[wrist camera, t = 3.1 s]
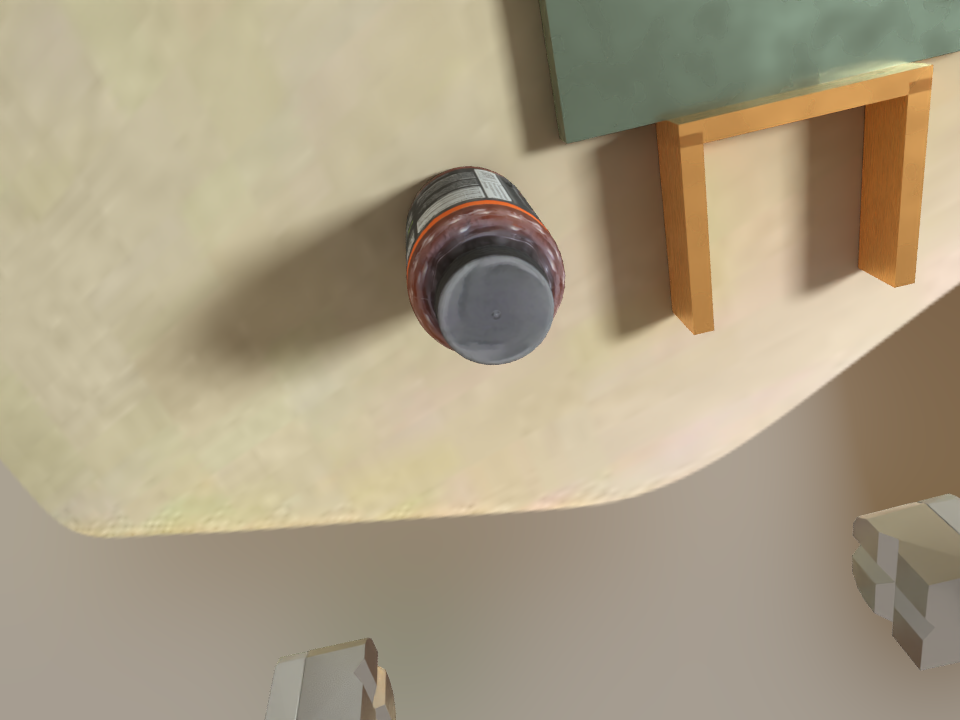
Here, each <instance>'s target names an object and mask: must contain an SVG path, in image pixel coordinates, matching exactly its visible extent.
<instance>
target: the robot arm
mask: <svg viewBox="0 0 960 720" xmlns="http://www.w3.org/2000/svg"><path fill="white" fill-rule="evenodd" d="M853 536H854V538H855V539H856V540H857V541H858V542H859V543H860V546H859V548H858V549H857V550H856V552H855V553H854V554H853V555H852V572H853V575H854V578H855V581H856V585H857V588H858V589H859V591H860V593H861V595H862V597H863V599H864V600H865V602H866V603H867V604H868V606H869V607H870V608H871V609H872V611H873V612H874V613H875V614H877V615H879V616H881V617H883V618H885V619H887V620H890V621H892V622H893V629H892V636H893V637H894V639H895V640H896V641H897V642H898V643H899V645H900V646H901V647H902V649H903V650H904V651H905V652H906V653H907V655H908V656H909V657H910V658H911V660H912V661H913V662H914V663H915V665H916V666H917V667H918V668H919V670H925V669H929V668H934V667H939V666H944V665H948V664H953V663H958V662H960V499H959V498H958V497H956V496H954V495H951V494H946V495H942V496H938V497H934V498H930V499H926V500H922V501H918V502H917V503H910V504H906V505H902V506H898V507H894V508H890V509H887V510H883V511H879V512H875V513H871V514H867V515H863V516H859V517H857V518H856V520H855V522H854V523H853ZM377 663H378V651H377V649H376V647H375V645H374V642H373V640H372V639H371V638H364V639H360V640H355V641H350V642H345V643H341V644H336V645H332V646H327V647H323V648H318V649H313V650H310V651H307V652H302V653H298V654H293V655H288V656H284V657H281V658H280V659H279V661H278V663H277V665H276V666H275V670H274V676H273V680H272V685H271V690H270V695H269V700H268V705H267V711H266V715H265V720H396V710H395V702H394V694H393V690H392V687H391V683H390V680H389V677H388V674H387V672H386V670H385V669H383V668H381V667H379V666H378V664H377Z"/></svg>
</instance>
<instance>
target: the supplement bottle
mask: <svg viewBox="0 0 960 720" xmlns="http://www.w3.org/2000/svg"><path fill="white" fill-rule="evenodd" d="M406 271H407V275H406V278H407V289H408V295H409V299H410V303H411V306H412V308H413V311H414V313H415V315H416V317H417V319H418V321H419V322H420V324H421V325H422V327H423V328H424V329H425V330H426V332H427V333H428V334H429V335H430V336H432V337H433V338H434V339H435V340H436V341H437V342H439V343H440V344H442V345H443V346H445V347H447V348H449V349H451V350H453V351H456V352H457V353H458V354H460V355H461V356H462V357H464V358H466V359H468V360H470V361H473V362H476V363H480V364H486V365H499V364H506V363H510V362H513V361H516V360H518V359H520V358H523V357H524V356H526V355H527V354H529V353H530V352H532V351H533V350H534V349H535V348H536V347H537V346H538V345H539V344H541V342H542V341H543V340H544V338H545V337H546V335H547V333H548V331H549V329H550V327H551V323H552V321H553V318H554V316H555V315H556V313H557V310H558V308H559V306H560V304H561V301H562V298H563V292H564V288H565V284H564V283H565V271H564V265H563V260H562V257H561V253H560V251H559V249H558V247H557V245H556V242H555V241H554V239H553V238H552V236H551V234H550V232H549V231H548V230H547V229H546V228H545V226H544V225H543V223H542V222H541V220H540V219H539V218H538V216H537V215H536V213H535V212H534V211H533V209H532V208H531V206H530V205H529V204H528V202H527V201H526V199H525V198H524V197H523V196H522V194H521V193H520V191H519V190H518V189H517V188H516V187H515V185H513V184H512V183H511V182H510V181H508V180H507V179H506V178H505V177H503V176H502V175H500V174H498V173H496V172H494V171H491V170H488V169H485V168H481V167H472V166H465V167H457V168H453V169H450V170H447V171H445V172H443V173H440V174H439V175H437V176H435V177H434V178H432V179H431V180H430V181H429V182H427V183H426V185H424V186H423V187H422V189H421V190H420V191H419V192H418V193H417V195H416V197H415V199H414V201H413V203H412V205H411V208H410V210H409V213H408V218H407V223H406Z"/></svg>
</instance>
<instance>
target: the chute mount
mask: <svg viewBox="0 0 960 720" xmlns="http://www.w3.org/2000/svg"><path fill="white" fill-rule="evenodd" d="M539 5H540V12H541V18H542V25H543V31H544V38H545V45H546V51H547V58H548V64H549V71H550V78H551V84H552V91H553V97H554V104H555V110H556V117H557V124H558V130H559V137H560V139H561V140H562V141H564V142H565V143H566V144H568V143H572V142H577V141H581V140H585V139H589V138H594V137H598V136H602V135H606V134H610V133H615V132H619V131H623V130H627V129H631V128H636V127H640V126H644V125H648V124H653V123H656V132H657V143H658V154H659V165H660V177H661V188H662V199H663V210H664V222H665V233H666V244H667V255H668V267H669V278H670V289H671V300H672V312H673V313H674V314H675V315H676V316H677V317H678V318H679V319H680V320H681V321H682V322H683V324H684V325H685V326H686V327H687V328H688V329H689V330H690V331H691V332H692V333H693V334H694V335H696V334H701V333H705V332H709V331H713V330H714V319H713V303H712V286H711V269H710V252H709V235H708V218H707V201H706V185H705V168H704V151H703V143H707V142H711V141H715V140H720V139H724V138H728V137H732V136H737V135H741V134H745V133H749V132H753V131H758V130H762V129H766V128H770V127H775V126H779V125H783V124H787V123H791V122H796V121H800V120H804V119H808V118H813V117H817V116H821V115H825V114H829V113H834V112H838V111H842V110H846V109H851V108H855V107H859V106H863V105H865V126H864V148H863V170H862V192H861V215H860V237H859V259H858V268H859V269H861V270H863V271H865V272H867V273H869V274H870V275H872V276H874V277H876V278H878V279H880V280H881V281H883V282H885V283H887V284H889V285H891V286H892V287H894V288H895V287H900V286H904V285H908V284H912V283H915V273H916V261H917V249H918V238H919V226H920V214H921V203H922V191H923V179H924V168H925V156H926V144H927V133H928V121H929V109H930V98H931V86H932V75H933V64H921V63H910V62H914V61H918V60H923V59H927V58H931V57H935V56H940V55H944V54H948V53H952V52H956V51H960V0H539Z"/></svg>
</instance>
